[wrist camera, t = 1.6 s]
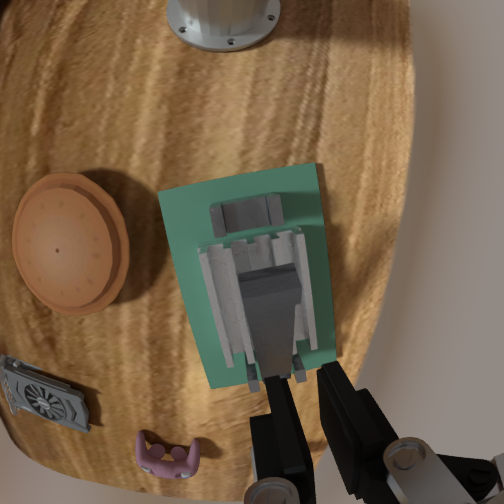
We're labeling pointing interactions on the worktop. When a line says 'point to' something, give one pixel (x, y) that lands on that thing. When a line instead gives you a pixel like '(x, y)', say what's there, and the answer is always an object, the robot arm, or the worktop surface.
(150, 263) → the worktop surface
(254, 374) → the heat sink
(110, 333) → the worktop surface
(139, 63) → the worktop surface
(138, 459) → the video game controller
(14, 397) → the graphics card
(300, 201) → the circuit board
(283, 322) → the grey lever rod
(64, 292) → the pie
